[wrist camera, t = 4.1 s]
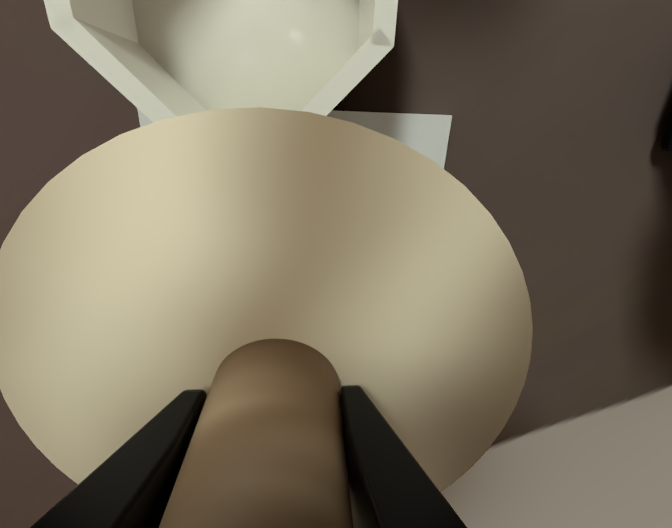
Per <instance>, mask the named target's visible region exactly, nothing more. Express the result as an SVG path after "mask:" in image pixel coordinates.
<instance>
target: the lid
mask: <svg viewBox="0 0 672 528" xmlns="http://www.w3.org/2000/svg"><path fill="white" fill-rule="evenodd" d="M532 333H533V327H532V316H531V305H530V299H529V295H528V291H527V287H526V283H525V279H524V276H523V272H522V270H521V267H520V265H519V263H518V261H517V258H516V256H515V254H514V252H513V249H512V247H511V245H510V243H509V241H508V240H507V238H506V237H505V235H504V234H503V232H502V231H501V229H500V228H499V226H498V224H497V223H496V221H495V220H494V218H493V217H492V215H491V214H490V213H489V212H488V211H487V209H486V208H485V207H484V206H483V205H482V204H481V203H480V202H479V201H478V200H477V199H476V198H475V196H474V195H473V194H472V193H471V192H470V191H469V190H468V189H467V188H466V187H465V186H464V185H463V184H462V183H461V182H459V181H458V180H457V179H455V178H454V177H453V176H452V175H450V174H449V173H448V172H447V171H445V170H444V169H443V168H442V167H440V166H439V165H438V164H437V163H435V162H434V161H433V160H431V159H429V158H427V157H426V156H424V155H422V154H420V153H419V152H417V151H415V150H413V149H412V148H410V147H408V146H406V145H405V144H403V143H401V142H400V141H398V140H396V139H393V138H391V137H388V136H386V135H383V134H381V133H378V132H376V131H373V130H371V129H368V128H366V127H363V126H361V125H358V124H356V123H352V122H349V121H345V120H340V119H336V118H332V117H328V116H324V115H320V114H315V113H311V112H304V111H294V110H283V109H273V108H261V107H258V108H237V109H215V110H207V111H202V112H197V113H192V114H187V115H182V116H176V117H171V118H166V119H163V120H160V121H157V122H154V123H151V124H148V125H146V126H143V127H140V128H137V129H134V130H132V131H129V132H126V133H123V134H120V135H119V136H117V137H115V138H113V139H111V140H109V141H108V142H106V143H104V144H102V145H100V146H98V147H97V148H95V149H93V150H91V151H89V152H87V153H86V154H84V155H82V156H81V157H79V158H78V159H77V160H75V161H74V162H73V163H72V164H70V165H69V166H68V167H67V168H65V169H64V170H63V171H61V172H60V173H59V174H58V175H56V176H55V177H54V178H53V179H51V180H50V181H49V182H48V183H47V184H46V185H45V186H44V187H43V188H42V190H41V191H40V192H39V193H38V194H37V195H36V196H35V197H34V199H33V200H32V201H31V202H30V203H29V204H28V205H27V206H26V208H25V209H24V210H23V211H22V212H21V214H20V216H19V217H18V219H17V221H16V222H15V224H14V226H13V227H12V229H11V231H10V232H9V234H8V236H7V237H6V239H5V241H4V242H3V245H2V247H1V250H0V389H1V392H2V395H3V397H4V399H5V401H6V403H7V404H8V406H9V408H10V410H11V411H12V413H13V415H14V417H15V418H16V420H17V422H18V424H19V425H20V426H21V428H22V429H23V430H24V431H25V433H26V434H27V435H28V437H29V438H30V439H31V441H32V442H33V443H34V444H35V446H36V447H37V448H38V449H39V450H40V451H41V452H42V453H43V454H44V455H45V456H46V457H47V458H48V459H49V460H50V461H51V462H52V463H53V464H54V465H55V466H56V467H57V468H58V469H59V470H61V471H62V472H63V473H64V474H66V475H67V476H68V477H69V478H71V479H72V480H73V481H74V482H76V483H77V484H79V483H81V482H82V481H83V480H84V479H85V478H86V477H87V476H88V475H89V474H91V473H92V472H93V471H94V470H95V469H96V468H97V467H98V466H100V465H101V464H102V463H103V462H104V461H105V460H106V459H107V458H108V457H110V456H111V455H112V454H113V453H114V452H115V451H116V450H117V449H119V448H120V447H121V446H122V445H123V444H124V443H125V442H126V441H127V440H129V439H130V438H131V437H132V436H133V435H134V434H135V433H136V432H138V431H139V430H140V429H141V428H142V427H143V426H144V425H145V424H146V423H148V422H149V421H150V420H151V419H152V418H153V417H154V416H155V415H157V414H158V413H159V412H160V411H161V410H162V409H163V408H164V407H165V406H167V405H168V404H169V403H170V402H171V401H172V400H173V399H174V398H176V397H177V396H178V395H179V394H180V393H181V392H182V391H184V390H187V389H203V390H205V392H206V394H207V398H206V401H205V403H204V406H203V409H202V412H201V414H200V417H199V420H198V422H197V425H196V428H195V431H194V433H193V436H192V439H191V441H190V444H189V447H188V450H187V452H186V455H185V458H184V460H183V463H182V466H181V469H180V471H179V474H178V477H177V479H176V482H175V485H174V488H173V490H172V493H171V496H170V498H169V501H168V504H167V507H166V509H165V512H164V515H163V517H162V520H161V523H160V526H159V528H353V519H352V509H351V499H350V488H349V478H348V468H347V459H346V451H345V441H344V431H343V421H342V411H341V401H340V389H341V387H342V386H344V385H359V386H360V387H361V388H362V389H363V390H364V391H365V393H366V394H367V395H368V397H369V398H370V399H371V401H372V402H373V403H374V405H375V406H376V407H377V409H378V410H379V411H380V413H381V414H382V415H383V417H384V418H385V419H386V421H387V422H388V423H389V425H390V426H391V427H392V429H393V430H394V431H395V433H396V434H397V435H398V437H399V438H400V439H401V441H402V442H403V443H404V445H405V446H406V447H407V449H408V450H409V451H410V453H411V454H412V455H413V457H414V458H415V459H416V461H417V462H418V463H419V465H420V466H421V467H422V469H423V470H424V471H425V473H426V474H427V475H428V476H429V478H430V479H431V480H432V482H433V483H434V484H435V486H436V487H437V488H438V490H439V491H440V492H441V491H442V490H444V489H445V488H447V487H448V486H449V485H451V484H452V483H453V482H455V481H456V480H457V479H458V478H459V477H460V476H461V475H463V474H464V473H465V472H466V471H467V470H469V469H470V468H471V467H472V466H473V465H474V464H475V463H476V462H477V461H478V459H479V458H480V457H481V456H482V455H483V454H484V453H485V452H486V451H487V450H488V449H489V447H490V446H491V445H492V443H493V442H494V441H495V439H496V438H497V437H498V435H499V434H500V432H501V431H502V430H503V428H504V426H505V425H506V423H507V421H508V419H509V417H510V416H511V414H512V412H513V410H514V408H515V407H516V404H517V402H518V399H519V396H520V394H521V391H522V389H523V386H524V384H525V380H526V376H527V371H528V367H529V362H530V358H531V347H532Z"/></svg>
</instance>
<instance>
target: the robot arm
mask: <svg viewBox="0 0 672 528" xmlns="http://www.w3.org/2000/svg"><path fill="white" fill-rule="evenodd" d="M661 148H662V149H663V150H664V151H669V152H672V115H671V118H670V120H669V123H668V126H667V128H666V131H665V133H664V136H663V138H662V141H661ZM206 398H207V394H206V392H205V390H203V389H187V390H184V391H182V392H181V393H180V394H179V395H178V396H177V397H176V398H174V399H173V400H172V401H171V402H170V403H169V404H168V405H167V406H165V407H164V408H163V409H162V410H161V411H160V412H159V413H158V414H157V415H155V416H154V417H153V418H152V419H151V420H150V421H149V422H148V423H146V424H145V425H144V426H143V427H142V428H141V429H140V430H139V431H138V432H136V433H135V434H134V435H133V436H132V437H131V438H130V439H129V440H127V441H126V442H125V443H124V444H123V445H122V446H121V447H120V448H119V449H117V450H116V451H115V452H114V453H113V454H112V455H111V456H110V457H108V458H107V459H106V460H105V461H104V462H103V463H102V464H101V465H100V466H98V467H97V468H96V469H95V470H94V471H93V472H92V473H91V474H89V475H88V476H87V477H86V478H85V479H84V480H83V481H82V482H81V483H79V484H78V485H77V486H76V487H75V488H74V489H73V490H72V491H70V492H69V493H68V494H67V495H66V496H65V497H64V498H63V499H62V500H60V501H59V502H58V503H57V504H56V505H55V506H54V507H53V508H51V509H50V510H49V511H48V512H47V513H46V514H45V515H44V516H43V517H41V518H40V519H39V520H38V521H37V522H36V523H35V524H34V525H32V526H31V527H30V528H159V526H160V523H161V520H162V517H163V515H164V512H165V509H166V507H167V504H168V501H169V498H170V496H171V493H172V490H173V488H174V485H175V482H176V479H177V477H178V474H179V471H180V469H181V466H182V463H183V460H184V458H185V455H186V452H187V450H188V447H189V444H190V441H191V439H192V436H193V433H194V431H195V428H196V425H197V422H198V420H199V417H200V414H201V412H202V409H203V406H204V403H205V401H206ZM340 401H341V411H342V421H343V431H344V441H345V451H346V459H347V468H348V478H349V488H350V499H351V509H352V519H353V528H467V527H466V526H465V524H464V523H463V522H462V520H461V519H460V518H459V516H458V515H457V514H456V513H455V511H454V510H453V508H452V507H451V506H450V504H449V503H448V502H447V500H446V499H445V498H444V496H443V495H442V494H441V492H440V491H439V490H438V488H437V487H436V486H435V484H434V483H433V482H432V480H431V479H430V478H429V476H428V475H427V474H426V473H425V471H424V470H423V469H422V467H421V466H420V465H419V463H418V462H417V461H416V459H415V458H414V457H413V455H412V454H411V453H410V451H409V450H408V449H407V447H406V446H405V445H404V443H403V442H402V441H401V439H400V438H399V437H398V435H397V434H396V433H395V431H394V430H393V429H392V427H391V426H390V425H389V423H388V422H387V421H386V419H385V418H384V417H383V415H382V414H381V413H380V411H379V410H378V409H377V407H376V406H375V405H374V403H373V402H372V401H371V399H370V398H369V397H368V395H367V394H366V393H365V391H364V390H363V389H362V388H361V387H360V386H359V385H344V386H342V387H341V389H340Z"/></svg>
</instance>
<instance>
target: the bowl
mask: <svg viewBox="0 0 672 528" xmlns="http://www.w3.org/2000/svg"><path fill="white" fill-rule="evenodd" d="M44 3H45V7H46V11H47V15H48V19H49V23H50V27H51V29H52V30H53V31H54V32H55V33H57V34H58V35H59V36H60V37H61V38H62V39H63V40H64V41H65V42H66V43H67V44H68V45H70V46H71V47H72V48H73V49H74V50H75V51H76V52H77V53H78V54H79V55H80V56H81V57H83V58H84V59H85V60H86V61H87V62H88V63H89V64H90V65H91V66H92V67H93V68H95V69H96V70H97V71H98V72H99V73H100V74H101V75H102V76H103V77H104V78H105V79H106V80H108V81H109V82H110V83H111V84H112V85H113V86H114V87H115V88H116V89H117V90H118V91H119V92H121V93H122V94H123V95H124V96H125V97H126V98H127V99H128V100H129V101H130V102H131V103H133V104H134V105H135V106H136V107H137V108H138V109H139V110H140V111H141V112H142V113H143V114H144V115H146V116H147V117H148V118H149V119H150V120H151V121H152V122H153V123H154V122H157V121H160V120H163V119H166V118H171V117H176V116H182V115H187V114H192V113H197V112H202V111H207V110H215V109H237V108H258V107H261V108H273V109H283V110H294V111H304V112H311V113H315V114H320V115H324V116H327V115H328V114H329V113H330V112H331V111H332V110H333V109H334V108H335V107H336V106H337V105H338V104H339V103H340V101H341V100H342V99H343V98H344V97H345V96H346V95H347V94H348V93H349V92H350V91H351V90H352V89H353V88H354V87H355V86H356V85H357V84H358V83H359V82H360V81H361V80H362V79H363V78H364V77H365V76H366V75H367V74H368V73H369V72H370V71H371V70H372V69H373V68H374V67H375V66H376V65H377V64H378V63H379V62H380V61H381V60H382V59H383V57H384V56H385V55H386V54H387V53H388V52H389V51H390V50H391V49H392V48H393V47H394V41H395V29H396V18H397V7H398V0H44Z"/></svg>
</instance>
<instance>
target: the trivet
mask: <svg viewBox="0 0 672 528" xmlns="http://www.w3.org/2000/svg"><path fill="white" fill-rule="evenodd" d="M137 110H138V115H139V121H140V127H143V126H146V125H148V124H151V123H153V122H152V121H151V120H150V119H149V118H148V117H147V116H146V115H144V114H143V113H142V112H141V111H140V110H139V109H138V108H137ZM327 116H328V117H332V118H336V119H340V120H345V121H349V122H352V123H356V124H358V125H361V126H363V127H366V128H368V129H371V130H373V131H376V132H378V133H381V134H383V135H386V136H388V137H391V138H393V139H396V140H398V141H400V142H401V143H403V144H405V145H406V146H408V147H410V148H412V149H413V150H415V151H417V152H419V153H420V154H422V155H424V156H426V157H427V158H429V159H431V160H433V161H434V162H435V163H437V164H438V165H439V166H440V167H442V168H443V169H444V165H445V158H446V152H447V146H448V139H449V133H450V126H451V120H452V115H431V114H406V113H380V112H355V111H331V112H330V113H329V114H328V115H327Z"/></svg>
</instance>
